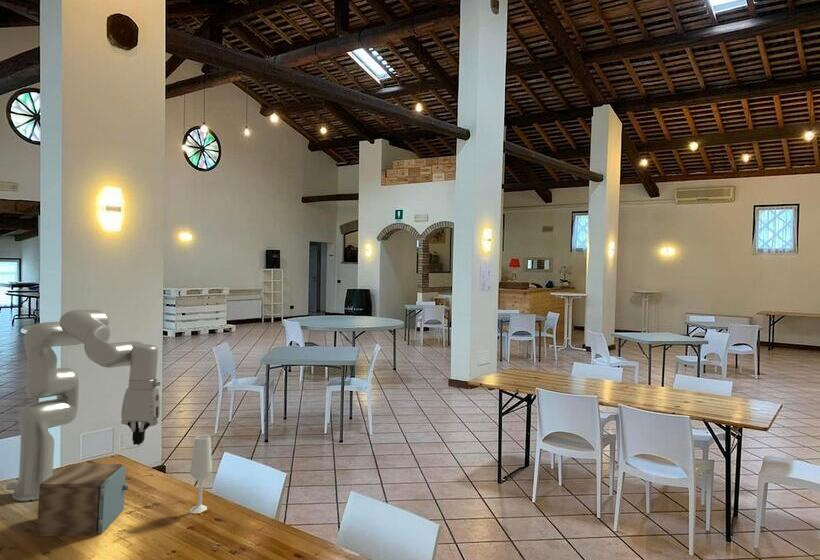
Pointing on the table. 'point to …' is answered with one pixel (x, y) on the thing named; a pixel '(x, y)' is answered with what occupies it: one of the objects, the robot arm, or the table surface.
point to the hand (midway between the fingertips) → (138, 443)
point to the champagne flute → (201, 466)
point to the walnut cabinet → (72, 500)
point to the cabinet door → (111, 498)
